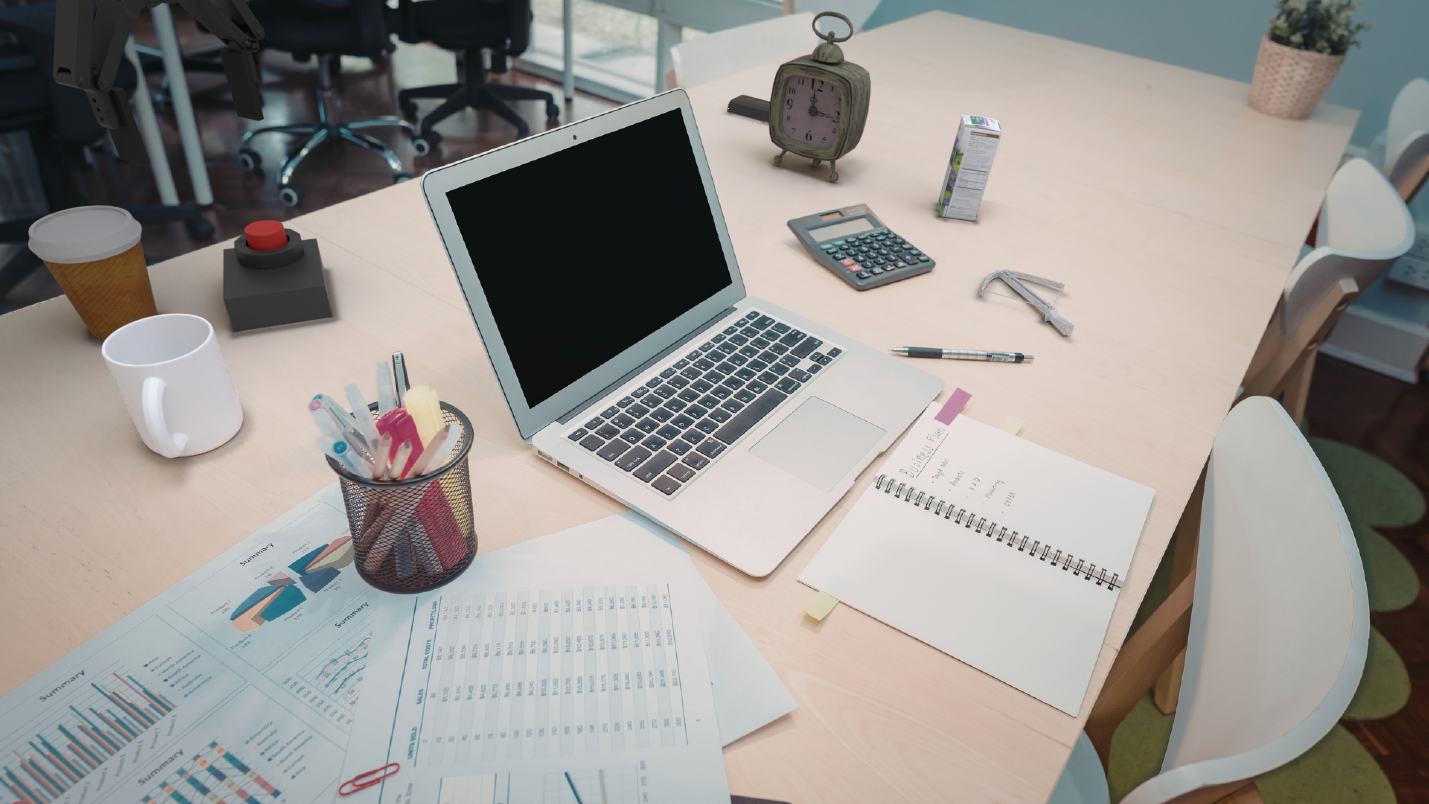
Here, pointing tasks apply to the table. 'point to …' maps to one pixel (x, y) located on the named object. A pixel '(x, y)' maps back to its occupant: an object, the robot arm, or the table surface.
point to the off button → (265, 235)
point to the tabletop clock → (819, 102)
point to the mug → (174, 383)
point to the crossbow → (1033, 295)
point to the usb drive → (750, 107)
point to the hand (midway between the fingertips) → (196, 138)
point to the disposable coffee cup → (97, 264)
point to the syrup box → (969, 167)
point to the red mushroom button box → (274, 284)
